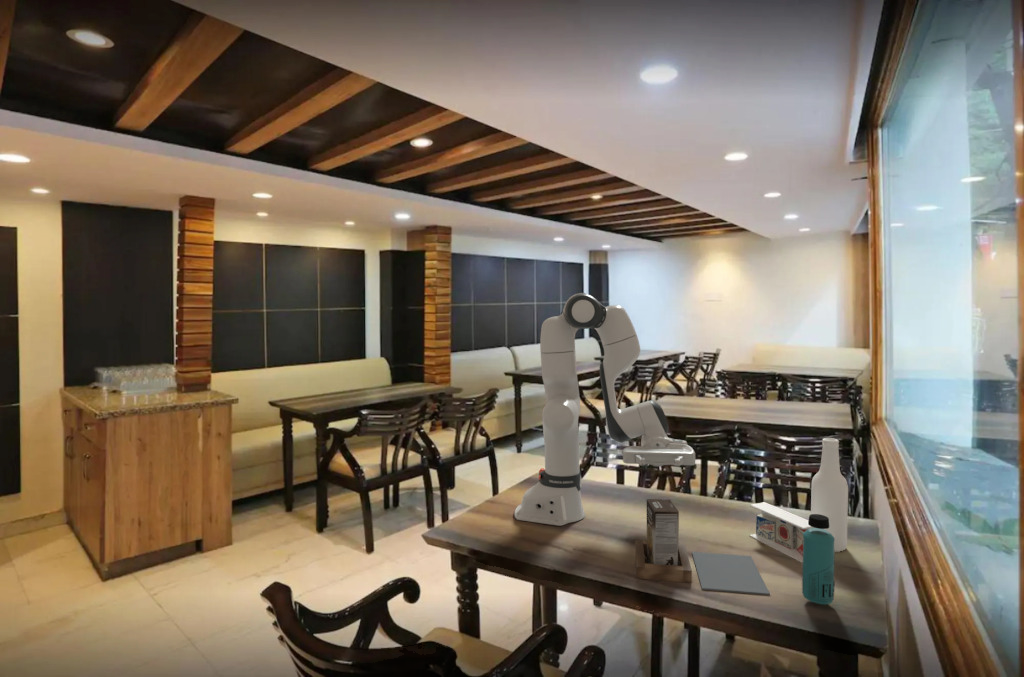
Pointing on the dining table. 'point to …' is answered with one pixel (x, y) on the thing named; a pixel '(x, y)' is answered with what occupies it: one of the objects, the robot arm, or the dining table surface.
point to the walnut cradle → (663, 571)
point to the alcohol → (831, 493)
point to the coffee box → (662, 532)
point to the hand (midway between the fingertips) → (659, 463)
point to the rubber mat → (729, 573)
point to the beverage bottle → (818, 561)
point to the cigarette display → (780, 530)
